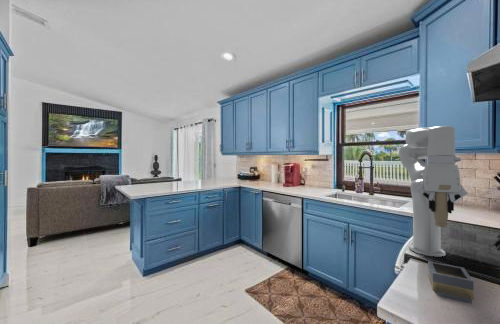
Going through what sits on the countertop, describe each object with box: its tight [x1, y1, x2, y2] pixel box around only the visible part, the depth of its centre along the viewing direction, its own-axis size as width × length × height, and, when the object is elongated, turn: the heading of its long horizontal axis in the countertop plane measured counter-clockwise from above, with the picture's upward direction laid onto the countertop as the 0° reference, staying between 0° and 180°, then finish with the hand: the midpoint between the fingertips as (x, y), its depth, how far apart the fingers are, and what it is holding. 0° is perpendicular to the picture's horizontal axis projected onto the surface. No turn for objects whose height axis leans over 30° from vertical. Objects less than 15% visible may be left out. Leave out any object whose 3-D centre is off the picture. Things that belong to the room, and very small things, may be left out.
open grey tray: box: [427, 260, 475, 304], centre depth 70 cm, size 16×9×5 cm, turn 148°
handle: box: [434, 185, 451, 228], centre depth 81 cm, size 5×6×15 cm
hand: (440, 211), depth 81 cm, fingers closed on handle, 4 cm apart
